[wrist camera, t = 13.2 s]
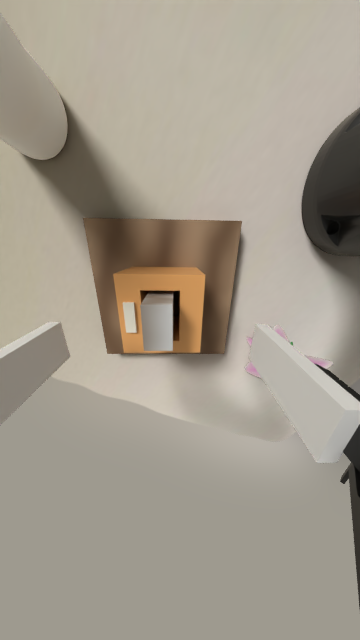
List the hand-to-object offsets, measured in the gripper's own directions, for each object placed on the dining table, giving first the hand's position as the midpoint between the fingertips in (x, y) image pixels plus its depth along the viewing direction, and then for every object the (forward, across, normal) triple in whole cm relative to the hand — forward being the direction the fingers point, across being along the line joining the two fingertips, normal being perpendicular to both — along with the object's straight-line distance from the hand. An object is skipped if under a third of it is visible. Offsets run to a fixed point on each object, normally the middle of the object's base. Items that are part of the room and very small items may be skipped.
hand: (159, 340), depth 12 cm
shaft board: (+14, 0, 0) cm, 14 cm away
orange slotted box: (+12, 0, 0) cm, 12 cm away
